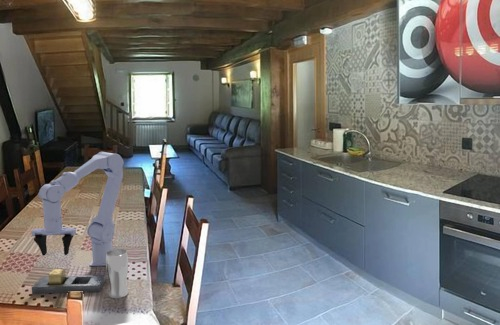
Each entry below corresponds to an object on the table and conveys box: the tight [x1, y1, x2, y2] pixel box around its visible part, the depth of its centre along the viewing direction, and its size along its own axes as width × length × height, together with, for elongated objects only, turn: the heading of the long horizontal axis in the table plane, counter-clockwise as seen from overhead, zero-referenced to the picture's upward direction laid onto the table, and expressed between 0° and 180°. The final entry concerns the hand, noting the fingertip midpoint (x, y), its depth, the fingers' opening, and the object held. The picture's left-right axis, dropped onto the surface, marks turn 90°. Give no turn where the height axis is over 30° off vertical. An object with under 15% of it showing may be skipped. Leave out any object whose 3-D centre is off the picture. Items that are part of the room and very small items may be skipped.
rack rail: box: [31, 274, 107, 295], centre depth 139 cm, size 8×22×2 cm, turn 94°
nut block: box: [48, 268, 67, 285], centre depth 138 cm, size 4×4×6 cm
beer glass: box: [105, 248, 129, 300], centre depth 133 cm, size 7×7×15 cm
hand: (55, 254), depth 144 cm, fingers open, 7 cm apart
